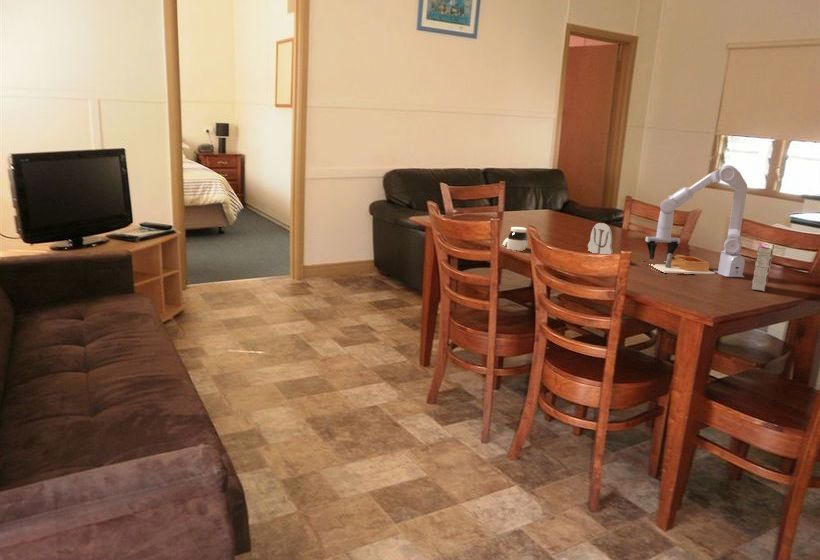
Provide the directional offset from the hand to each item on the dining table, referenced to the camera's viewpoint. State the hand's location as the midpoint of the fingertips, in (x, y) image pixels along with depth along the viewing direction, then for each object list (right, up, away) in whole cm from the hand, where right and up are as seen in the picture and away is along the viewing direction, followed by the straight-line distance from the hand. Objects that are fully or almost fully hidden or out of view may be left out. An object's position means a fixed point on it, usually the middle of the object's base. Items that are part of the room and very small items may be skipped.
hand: (659, 258), depth 266 cm
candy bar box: (+25, -12, -30) cm, 41 cm away
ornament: (-31, -1, +2) cm, 31 cm away
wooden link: (+10, -3, -3) cm, 11 cm away
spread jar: (-61, +3, +11) cm, 62 cm away
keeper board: (+5, -5, -4) cm, 8 cm away
